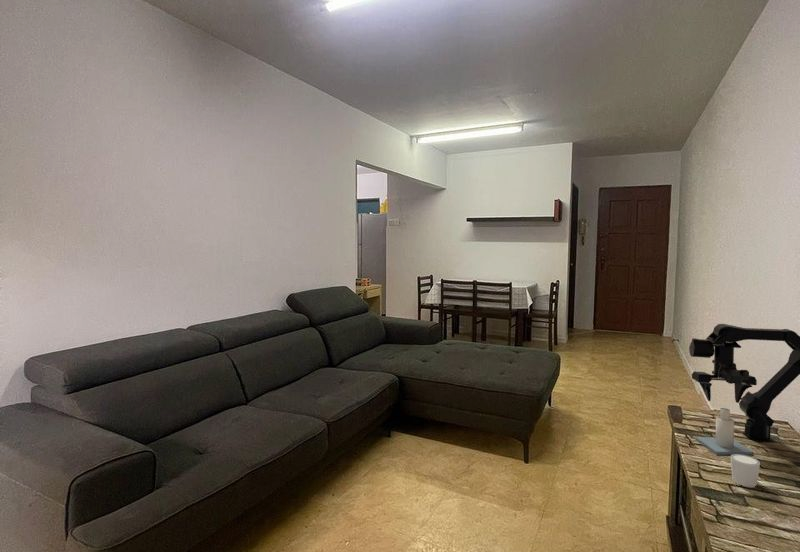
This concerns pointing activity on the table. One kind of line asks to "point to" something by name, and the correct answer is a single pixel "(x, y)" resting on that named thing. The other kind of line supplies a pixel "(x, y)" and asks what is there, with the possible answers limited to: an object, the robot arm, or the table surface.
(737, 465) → the shot glass
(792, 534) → the table surface
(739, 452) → the slate board
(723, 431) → the cream bottle
